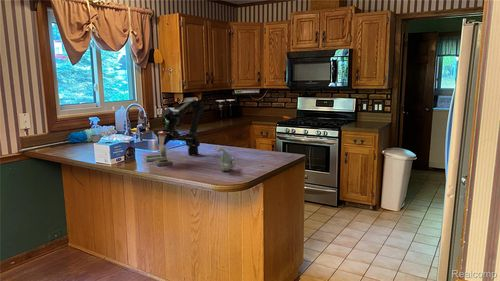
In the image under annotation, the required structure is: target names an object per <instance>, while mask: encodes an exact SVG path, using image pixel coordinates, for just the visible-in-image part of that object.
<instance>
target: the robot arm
mask: <svg viewBox="0 0 500 281" xmlns="http://www.w3.org/2000/svg"><path fill="white" fill-rule="evenodd" d="M205 107H206V106H205V104H204V102H202V101H198V100H196V99H191V98H190V99H188V100H186V102H185V103H183V104H182V105H181V106H180V107H177V108H174V109H173V110H171V109H170V108H169V107H166V108H165V109H163V111H161V116H162V117H163V118H164V119H165V121H166V122H167V123H165V125H164V126H165V128H162V130H161V129H159V128H158V129H154V130H153V131H152V133H153V134H154V135H155V136H156V137H157V145H159V134H157V132H161V131H166V132H167V134H166V138H165V141H164V145H166V146H167V144H168V143H169V142H170V141H173V142H174V141H176V140H178V139H180V138H181V134H180V133H179V131H178V130H176V126H177V125H180V124H181V123H180V119H182V118H183V117H184V116H185V113H186V112H187V111H189V109H192V112H193V114H192V117H191V118H192V120H191V123H190V129H189V132H188V133H186V134H185V138H184V139H185V140H184V142H185V145H186V147H188V148H187V153H188V155H189V156H195V155H199V147H200V145H201V143H200V141H199V137H198V135H197V131H198V127H199V123H200V119H201V118H200V117H201V114H202V113H203V112H204V110H205Z"/></svg>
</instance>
